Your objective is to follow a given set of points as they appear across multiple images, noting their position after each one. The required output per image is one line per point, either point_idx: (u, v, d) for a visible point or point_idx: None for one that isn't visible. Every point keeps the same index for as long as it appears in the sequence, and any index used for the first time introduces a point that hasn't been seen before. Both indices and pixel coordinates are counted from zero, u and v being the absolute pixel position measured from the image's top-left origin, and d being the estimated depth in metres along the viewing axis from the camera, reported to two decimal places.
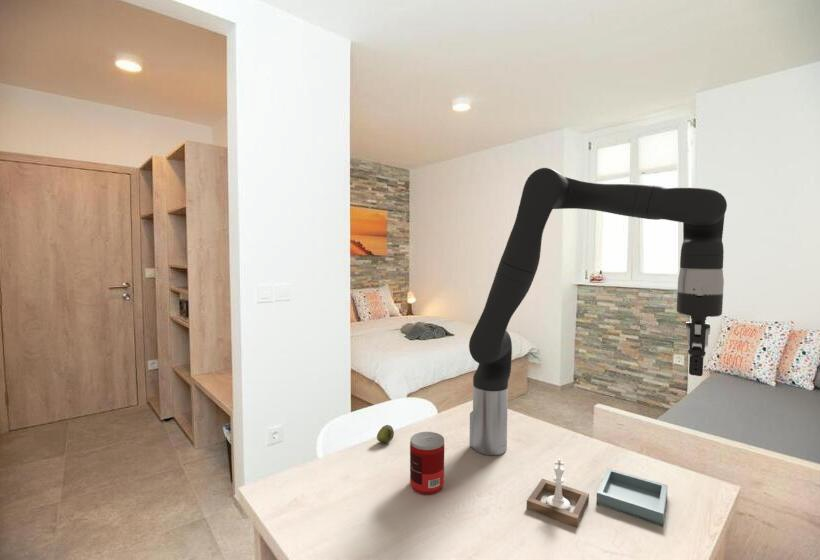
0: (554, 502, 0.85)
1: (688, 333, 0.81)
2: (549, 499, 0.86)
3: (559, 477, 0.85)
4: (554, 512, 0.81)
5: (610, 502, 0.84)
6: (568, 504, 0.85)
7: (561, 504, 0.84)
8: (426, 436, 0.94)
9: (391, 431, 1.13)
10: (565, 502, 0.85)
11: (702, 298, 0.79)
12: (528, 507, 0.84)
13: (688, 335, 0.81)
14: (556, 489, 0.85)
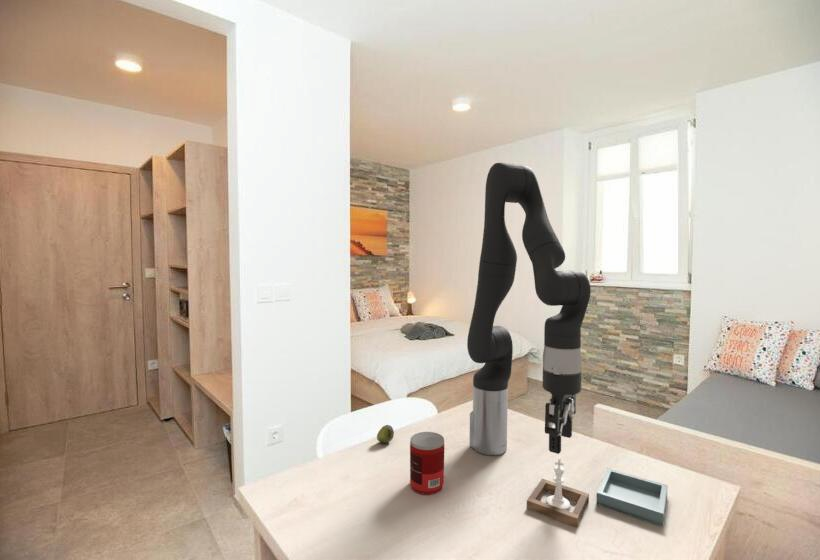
0: (554, 502, 0.85)
1: None
2: (549, 499, 0.86)
3: (559, 477, 0.85)
4: (554, 512, 0.81)
5: (610, 502, 0.84)
6: (568, 504, 0.85)
7: (561, 504, 0.84)
8: (426, 436, 0.94)
9: (391, 431, 1.13)
10: (565, 502, 0.85)
11: (559, 377, 0.81)
12: (528, 507, 0.84)
13: None
14: (556, 489, 0.85)
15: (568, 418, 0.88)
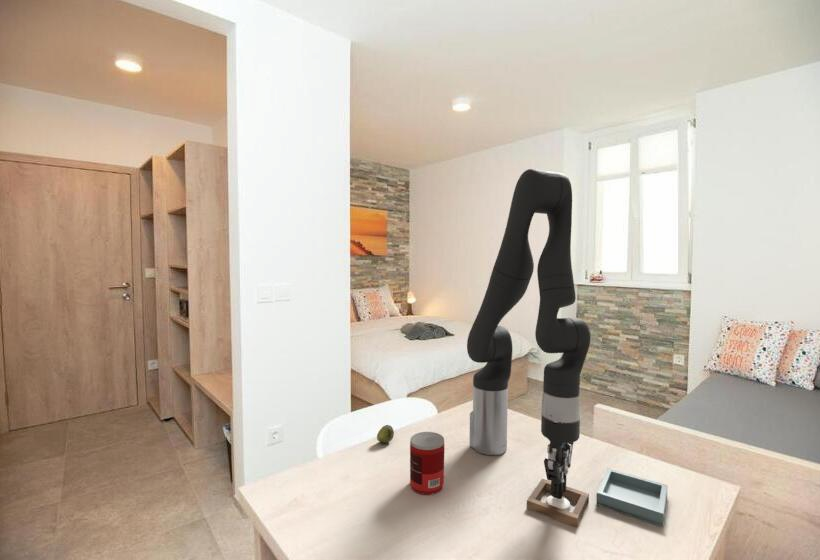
0: (554, 502, 0.85)
1: (549, 457, 0.84)
2: (549, 499, 0.86)
3: None
4: (554, 512, 0.81)
5: (610, 502, 0.84)
6: (568, 504, 0.85)
7: (561, 504, 0.84)
8: (426, 436, 0.94)
9: (391, 431, 1.13)
10: (565, 502, 0.85)
11: (557, 425, 0.81)
12: (528, 507, 0.84)
13: None
14: None
15: None
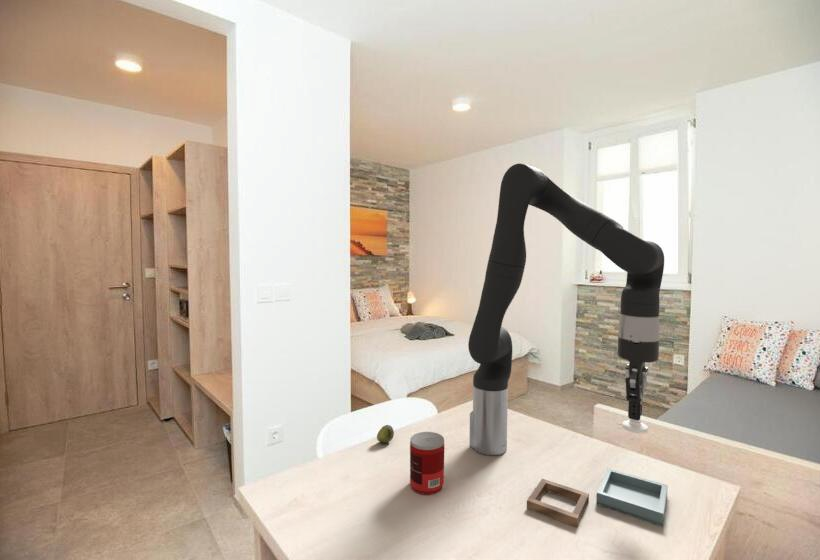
0: (632, 424, 0.85)
1: None
2: (625, 422, 0.87)
3: None
4: (554, 512, 0.81)
5: (610, 502, 0.84)
6: (646, 426, 0.85)
7: (639, 426, 0.85)
8: (426, 436, 0.94)
9: (391, 431, 1.13)
10: (642, 424, 0.86)
11: (638, 345, 0.82)
12: (528, 507, 0.84)
13: None
14: None
15: None
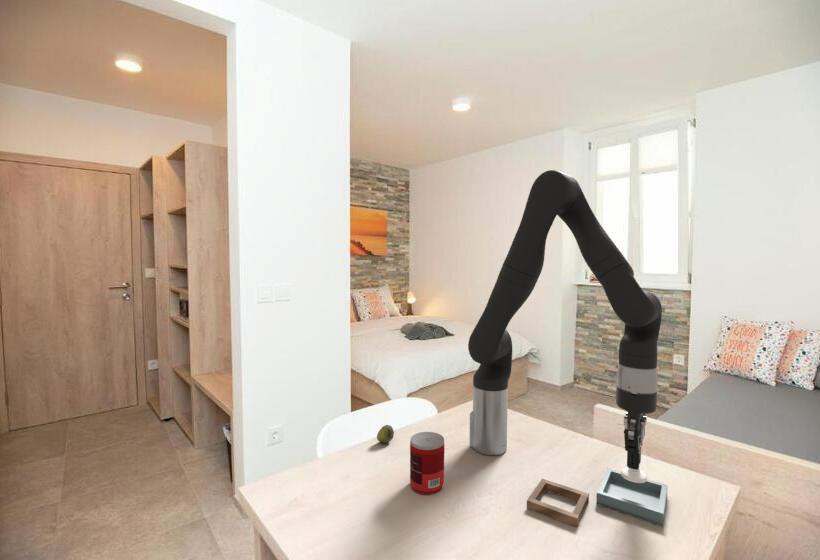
0: (630, 473, 0.86)
1: (625, 429, 0.85)
2: (624, 471, 0.87)
3: None
4: (554, 512, 0.81)
5: (610, 502, 0.84)
6: (644, 475, 0.86)
7: (638, 475, 0.86)
8: (426, 436, 0.94)
9: (391, 431, 1.13)
10: (641, 473, 0.86)
11: (636, 396, 0.82)
12: (528, 507, 0.84)
13: None
14: None
15: None
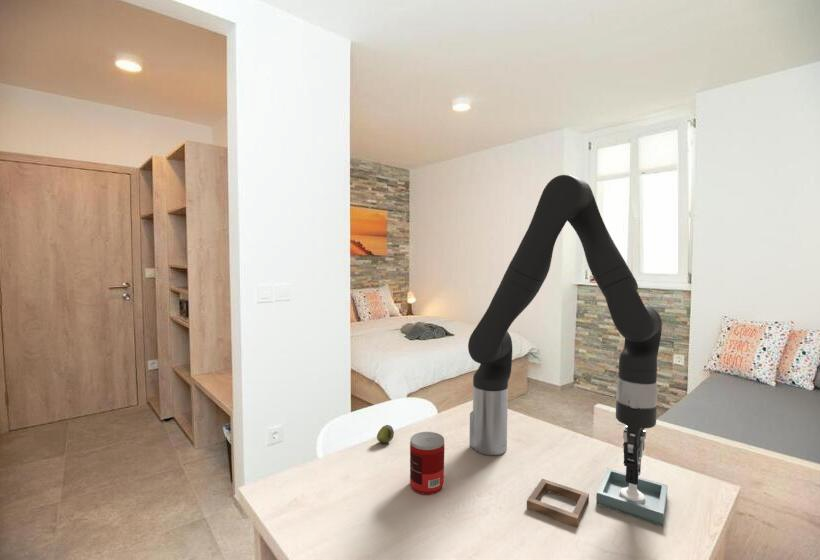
0: (629, 494, 0.86)
1: None
2: (622, 491, 0.88)
3: None
4: (554, 512, 0.81)
5: (610, 502, 0.84)
6: (643, 496, 0.86)
7: (636, 496, 0.86)
8: (426, 436, 0.94)
9: (391, 431, 1.13)
10: (640, 494, 0.87)
11: (636, 411, 0.83)
12: (528, 507, 0.84)
13: None
14: None
15: None
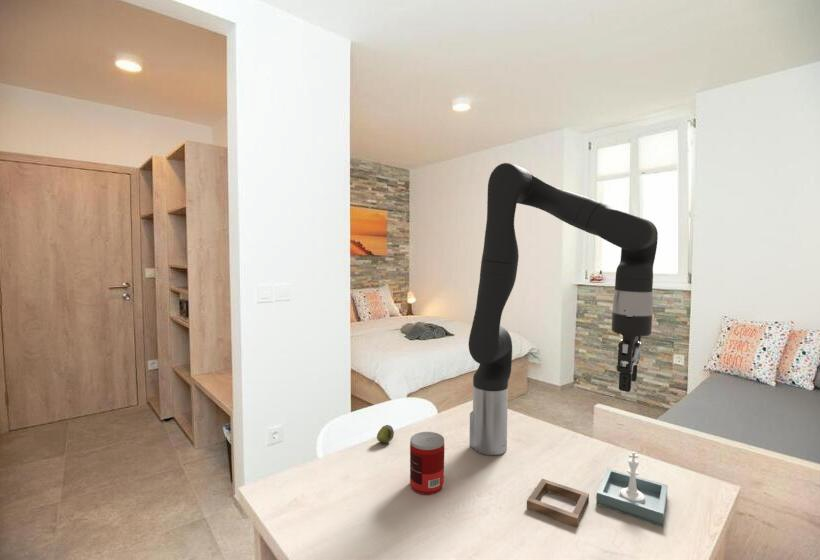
0: (629, 494, 0.86)
1: None
2: (622, 491, 0.88)
3: (634, 470, 0.86)
4: (554, 512, 0.81)
5: (610, 502, 0.84)
6: (643, 496, 0.86)
7: (636, 496, 0.86)
8: (426, 436, 0.94)
9: (391, 431, 1.13)
10: (640, 494, 0.87)
11: (631, 319, 0.84)
12: (528, 507, 0.84)
13: None
14: (630, 481, 0.87)
15: None
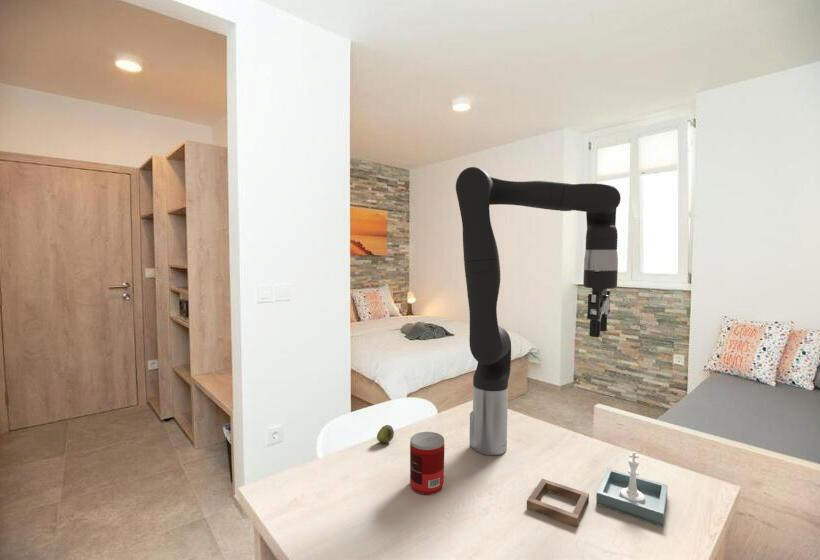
0: (629, 494, 0.86)
1: None
2: (622, 491, 0.88)
3: (634, 470, 0.86)
4: (554, 512, 0.81)
5: (610, 502, 0.84)
6: (643, 496, 0.86)
7: (636, 496, 0.86)
8: (426, 436, 0.94)
9: (391, 431, 1.13)
10: (640, 494, 0.87)
11: (599, 273, 0.96)
12: (528, 507, 0.84)
13: None
14: (630, 481, 0.87)
15: (604, 315, 1.03)
